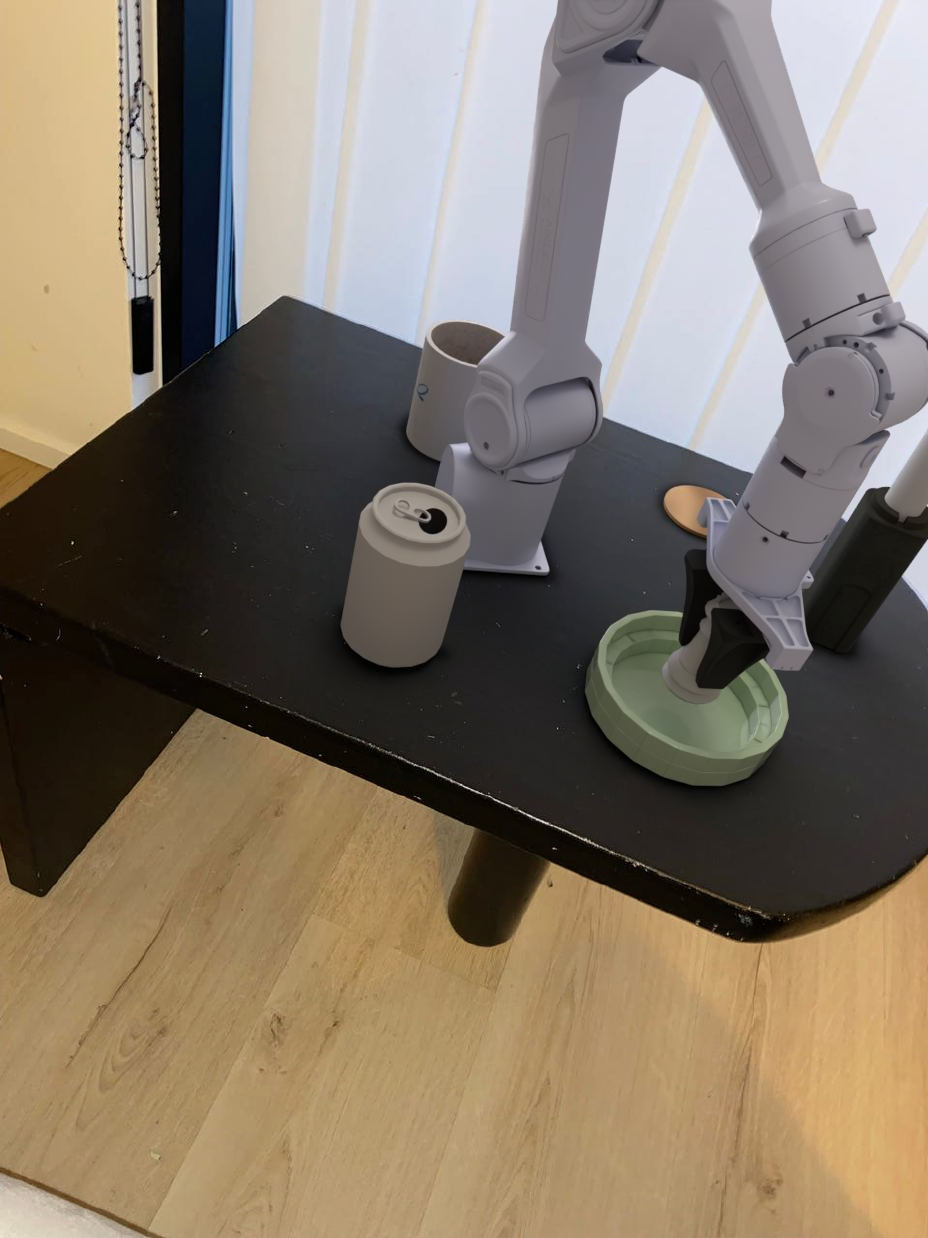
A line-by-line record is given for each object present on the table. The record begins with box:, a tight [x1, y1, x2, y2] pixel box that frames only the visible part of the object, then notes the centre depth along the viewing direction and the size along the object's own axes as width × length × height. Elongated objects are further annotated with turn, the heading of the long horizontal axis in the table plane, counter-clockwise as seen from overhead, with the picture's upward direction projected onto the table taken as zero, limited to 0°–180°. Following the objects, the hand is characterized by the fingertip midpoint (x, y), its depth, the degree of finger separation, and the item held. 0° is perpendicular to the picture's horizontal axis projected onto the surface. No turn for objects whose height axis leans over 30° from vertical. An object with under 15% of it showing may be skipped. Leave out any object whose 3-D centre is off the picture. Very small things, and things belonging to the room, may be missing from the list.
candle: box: [802, 429, 928, 654], centre depth 73 cm, size 5×5×25 cm
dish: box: [584, 609, 790, 787], centre depth 69 cm, size 14×14×4 cm
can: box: [340, 482, 471, 668], centre depth 65 cm, size 8×8×12 cm
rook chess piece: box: [662, 592, 742, 705], centre depth 66 cm, size 4×4×8 cm
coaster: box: [663, 484, 728, 540], centre depth 90 cm, size 8×8×1 cm
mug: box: [406, 318, 507, 462], centre depth 88 cm, size 12×9×10 cm
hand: (700, 664), depth 67 cm, fingers closed on rook chess piece, 3 cm apart
